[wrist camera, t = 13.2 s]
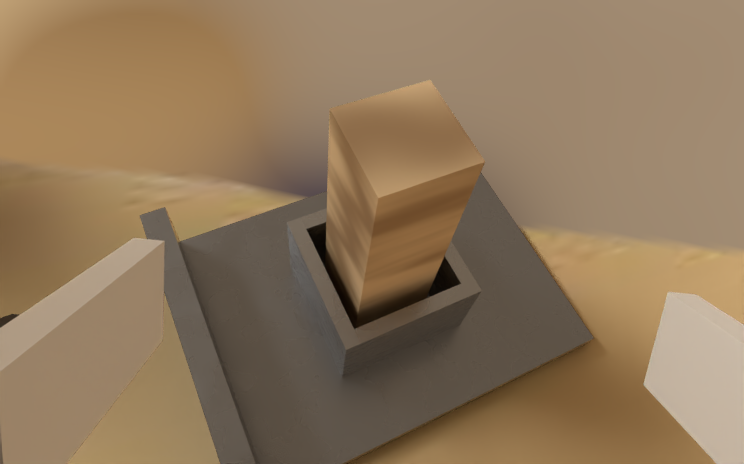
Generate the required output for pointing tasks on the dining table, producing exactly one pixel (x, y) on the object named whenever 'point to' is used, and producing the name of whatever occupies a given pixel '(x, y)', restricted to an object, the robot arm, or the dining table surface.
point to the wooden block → (394, 197)
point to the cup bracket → (351, 332)
